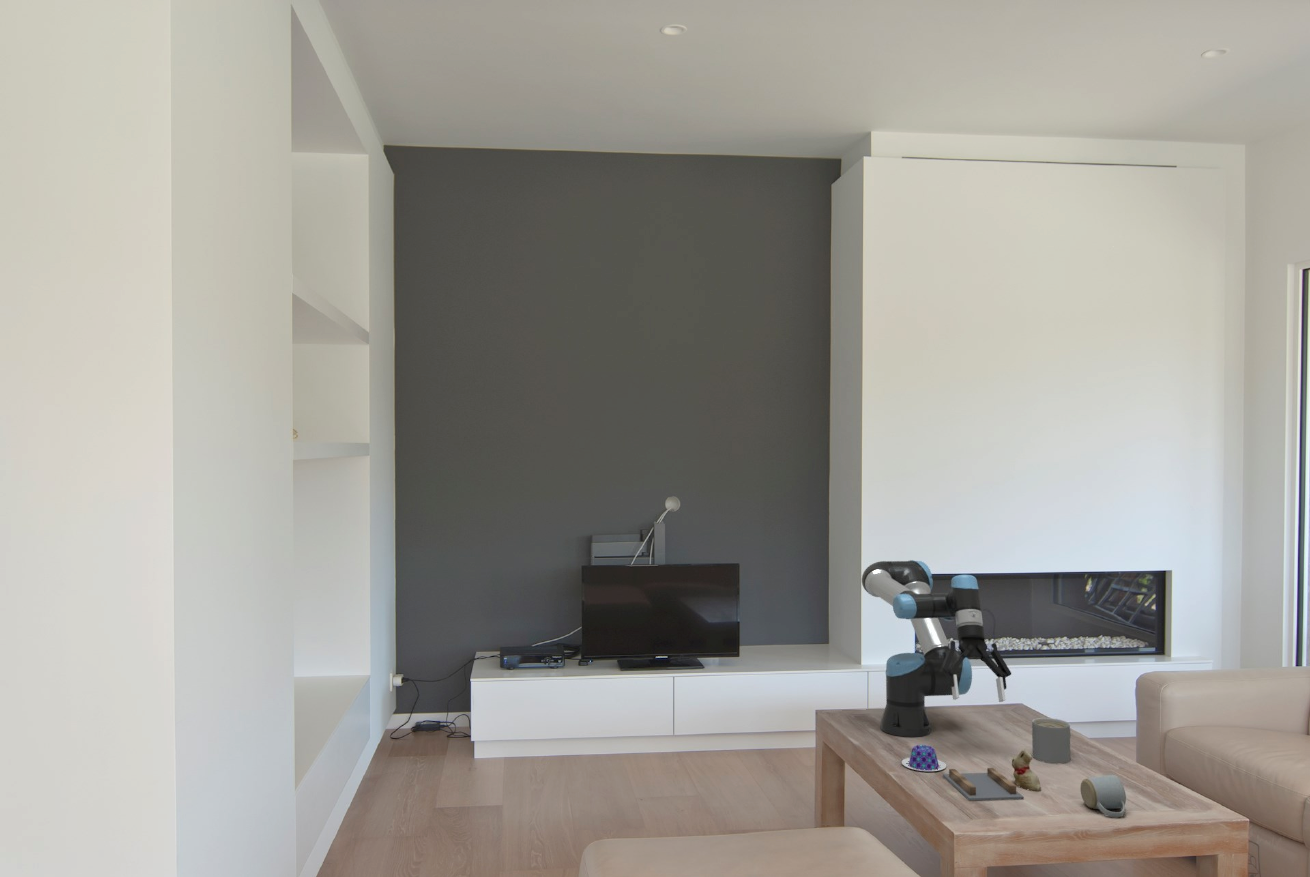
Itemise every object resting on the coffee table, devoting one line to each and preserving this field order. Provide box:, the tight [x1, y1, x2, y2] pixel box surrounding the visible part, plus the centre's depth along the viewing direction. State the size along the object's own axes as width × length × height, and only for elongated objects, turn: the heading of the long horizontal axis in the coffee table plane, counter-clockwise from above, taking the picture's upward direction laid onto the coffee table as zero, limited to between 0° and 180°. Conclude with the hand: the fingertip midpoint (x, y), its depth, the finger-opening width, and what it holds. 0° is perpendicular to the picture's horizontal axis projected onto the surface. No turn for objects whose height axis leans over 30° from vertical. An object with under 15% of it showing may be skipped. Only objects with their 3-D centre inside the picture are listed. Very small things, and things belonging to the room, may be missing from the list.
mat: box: [942, 772, 1025, 802], centre depth 246 cm, size 18×14×1 cm
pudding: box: [901, 744, 947, 772], centre depth 264 cm, size 12×12×5 cm
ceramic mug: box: [1079, 774, 1127, 818], centre depth 231 cm, size 11×8×8 cm
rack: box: [948, 767, 1017, 795], centre depth 246 cm, size 14×12×2 cm
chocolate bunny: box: [1011, 748, 1042, 792], centre depth 247 cm, size 6×8×10 cm
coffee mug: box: [1031, 717, 1072, 764], centre depth 271 cm, size 13×10×10 cm
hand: (979, 700), depth 270 cm, fingers open, 13 cm apart
